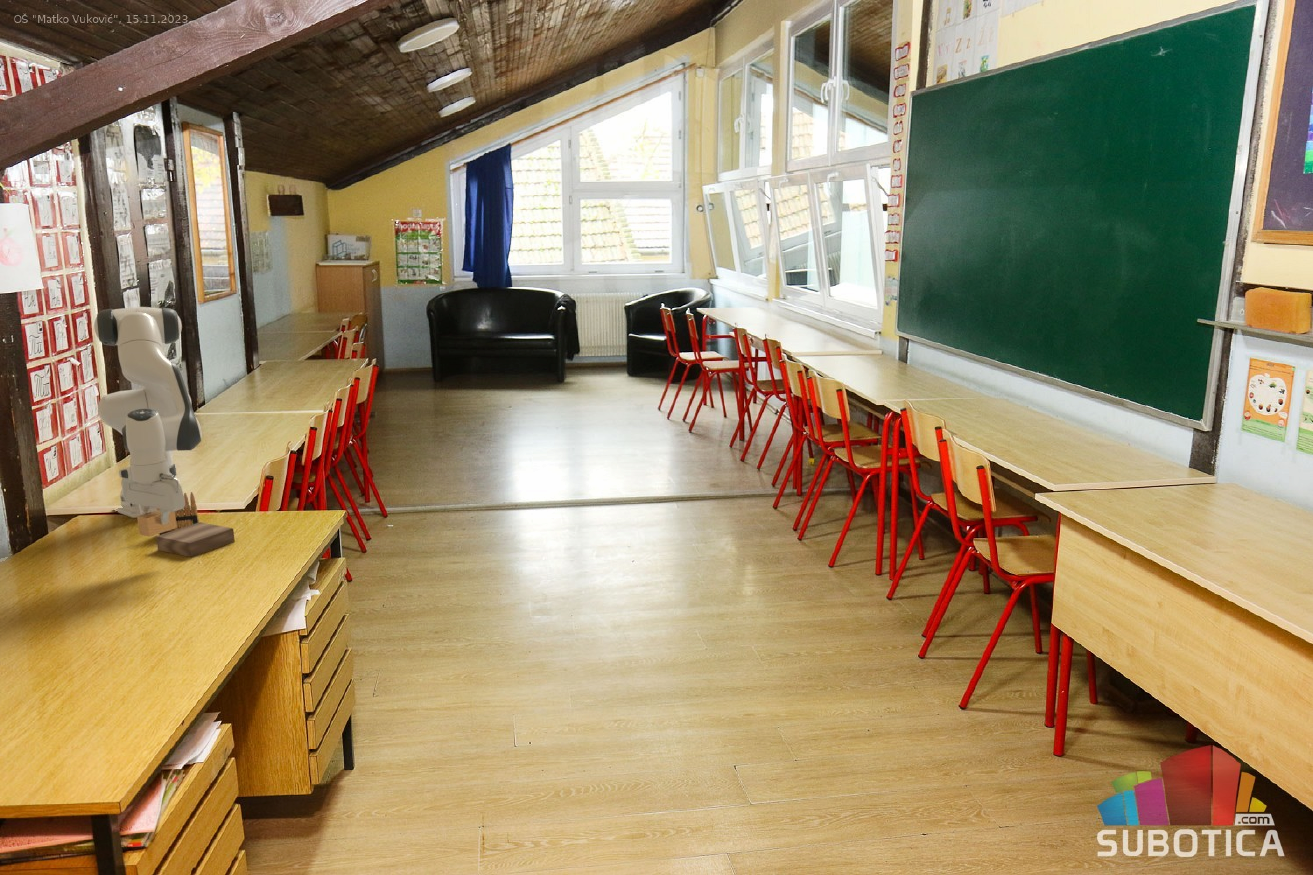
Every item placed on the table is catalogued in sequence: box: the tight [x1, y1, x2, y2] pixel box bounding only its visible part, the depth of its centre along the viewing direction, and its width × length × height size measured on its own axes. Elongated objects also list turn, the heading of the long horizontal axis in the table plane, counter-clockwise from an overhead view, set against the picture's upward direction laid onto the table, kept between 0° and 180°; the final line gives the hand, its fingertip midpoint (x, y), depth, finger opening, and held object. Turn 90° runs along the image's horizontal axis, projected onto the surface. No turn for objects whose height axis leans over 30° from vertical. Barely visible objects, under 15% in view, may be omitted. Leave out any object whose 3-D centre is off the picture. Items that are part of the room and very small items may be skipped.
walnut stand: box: [155, 521, 236, 558], centre depth 270 cm, size 14×14×4 cm
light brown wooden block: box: [136, 509, 177, 538], centre depth 254 cm, size 4×8×5 cm, turn 153°
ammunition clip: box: [157, 491, 200, 535], centre depth 281 cm, size 11×2×12 cm, turn 109°
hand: (157, 522), depth 254 cm, fingers closed on light brown wooden block, 4 cm apart
